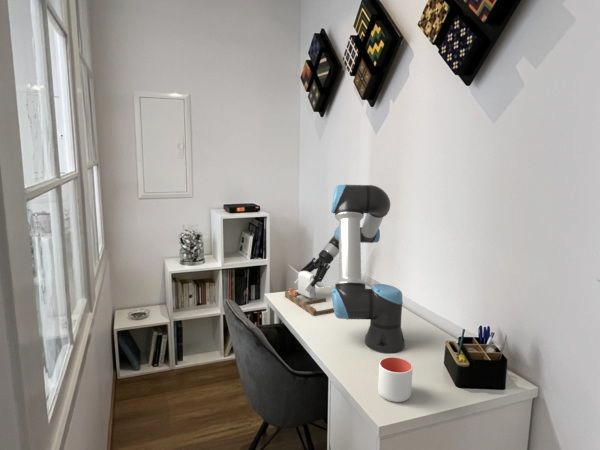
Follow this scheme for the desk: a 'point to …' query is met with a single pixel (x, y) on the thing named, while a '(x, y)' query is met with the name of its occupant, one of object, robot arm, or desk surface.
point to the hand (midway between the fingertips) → (301, 287)
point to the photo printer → (305, 283)
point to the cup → (395, 379)
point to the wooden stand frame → (306, 303)
